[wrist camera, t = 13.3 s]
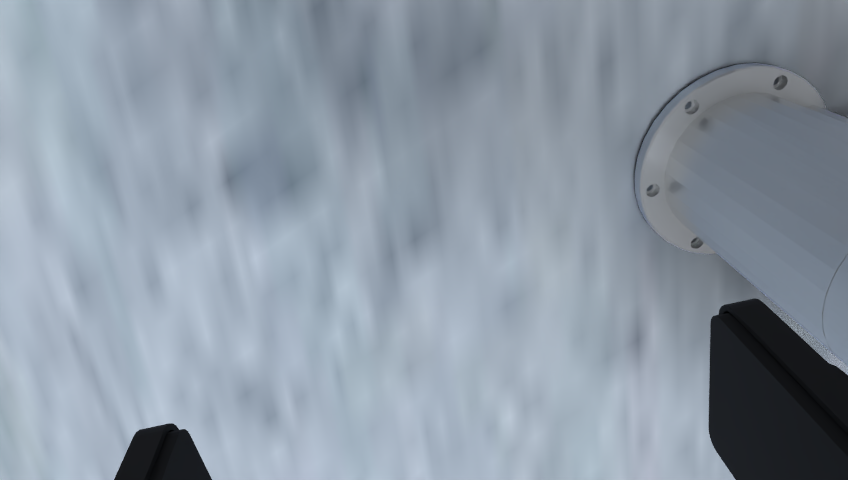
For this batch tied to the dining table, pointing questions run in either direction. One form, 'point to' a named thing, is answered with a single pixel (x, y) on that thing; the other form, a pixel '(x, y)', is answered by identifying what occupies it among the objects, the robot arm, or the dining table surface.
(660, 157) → the robot arm
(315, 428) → the dining table surface
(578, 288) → the dining table surface
